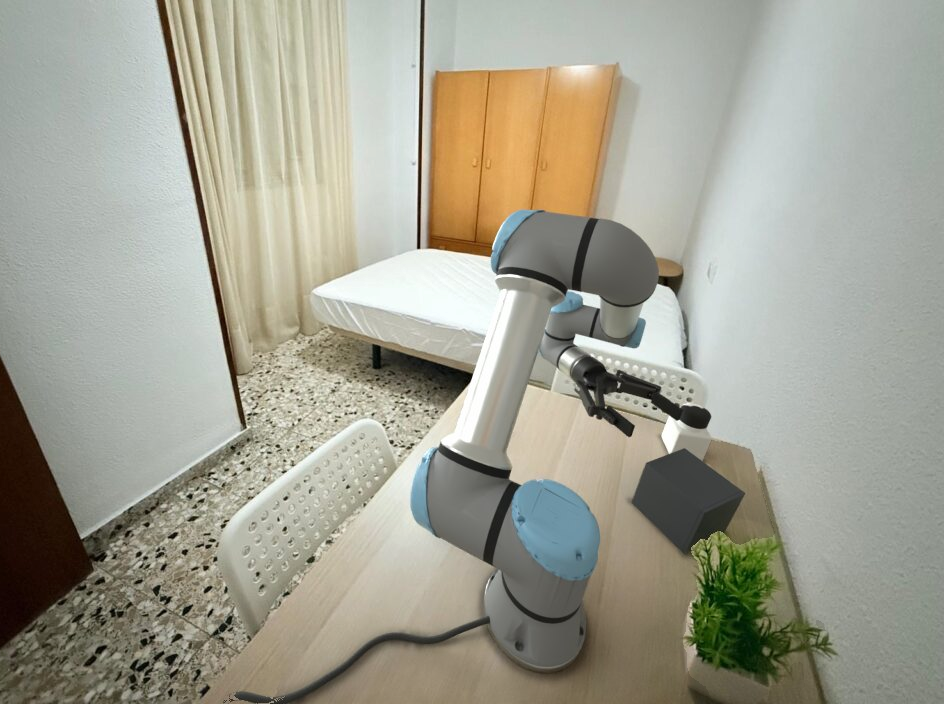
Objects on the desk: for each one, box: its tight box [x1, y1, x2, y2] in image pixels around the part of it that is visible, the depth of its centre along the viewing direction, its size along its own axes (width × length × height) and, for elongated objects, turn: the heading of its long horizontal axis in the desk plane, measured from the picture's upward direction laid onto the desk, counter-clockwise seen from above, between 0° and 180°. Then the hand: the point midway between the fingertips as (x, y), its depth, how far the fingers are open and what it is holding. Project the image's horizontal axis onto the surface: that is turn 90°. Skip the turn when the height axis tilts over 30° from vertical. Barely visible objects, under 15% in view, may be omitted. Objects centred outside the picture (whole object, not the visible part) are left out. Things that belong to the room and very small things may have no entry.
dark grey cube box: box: [631, 448, 747, 555], centre depth 77 cm, size 12×11×11 cm
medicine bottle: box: [660, 402, 713, 462], centre depth 94 cm, size 7×7×12 cm
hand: (657, 423), depth 80 cm, fingers open, 13 cm apart
